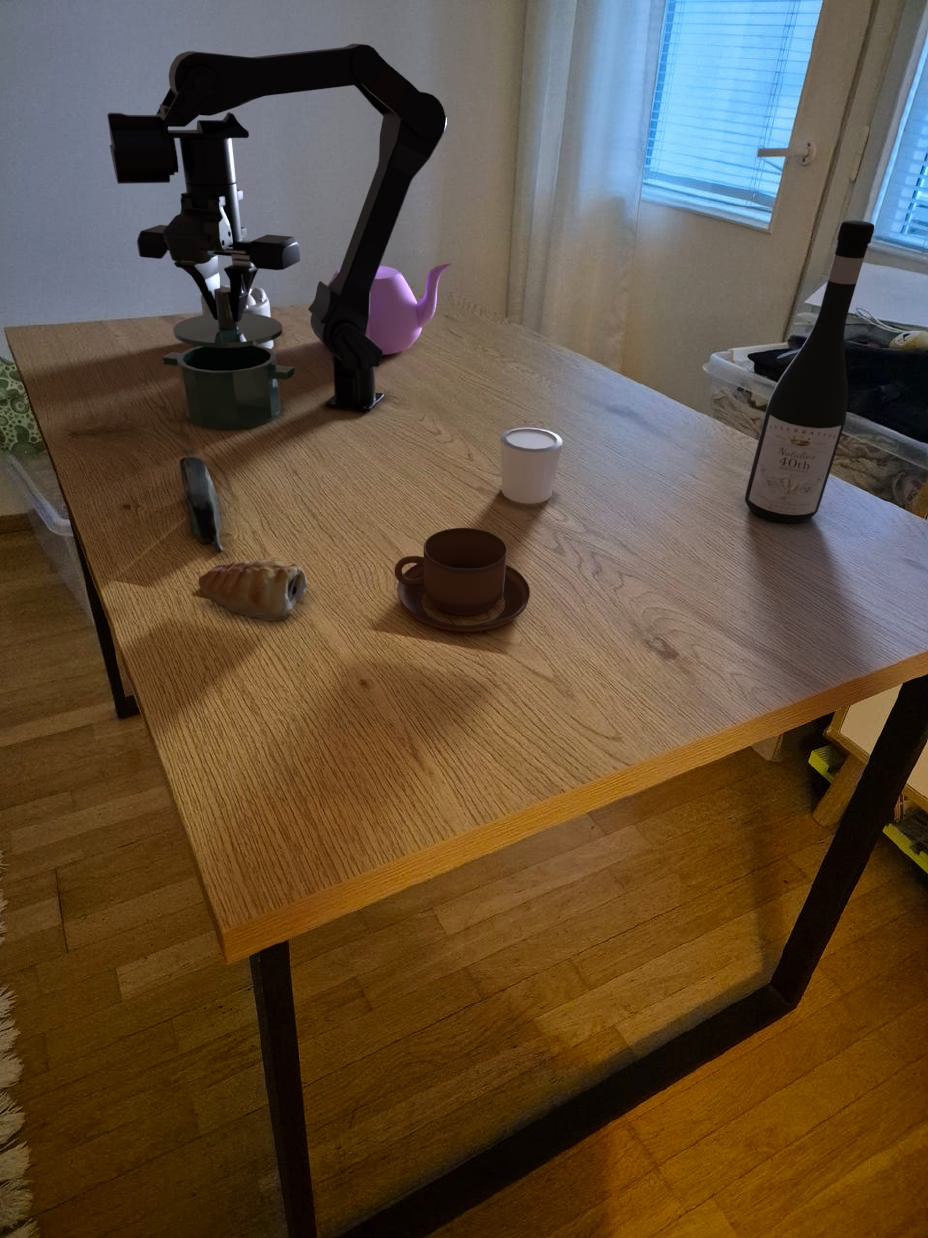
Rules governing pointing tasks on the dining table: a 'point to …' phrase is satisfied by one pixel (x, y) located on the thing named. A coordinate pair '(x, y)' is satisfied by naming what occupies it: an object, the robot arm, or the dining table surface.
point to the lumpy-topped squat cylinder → (249, 306)
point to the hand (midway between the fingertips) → (227, 320)
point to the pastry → (255, 587)
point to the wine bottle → (809, 400)
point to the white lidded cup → (529, 464)
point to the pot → (230, 385)
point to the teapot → (398, 309)
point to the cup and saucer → (462, 579)
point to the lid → (227, 327)
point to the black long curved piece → (201, 501)
